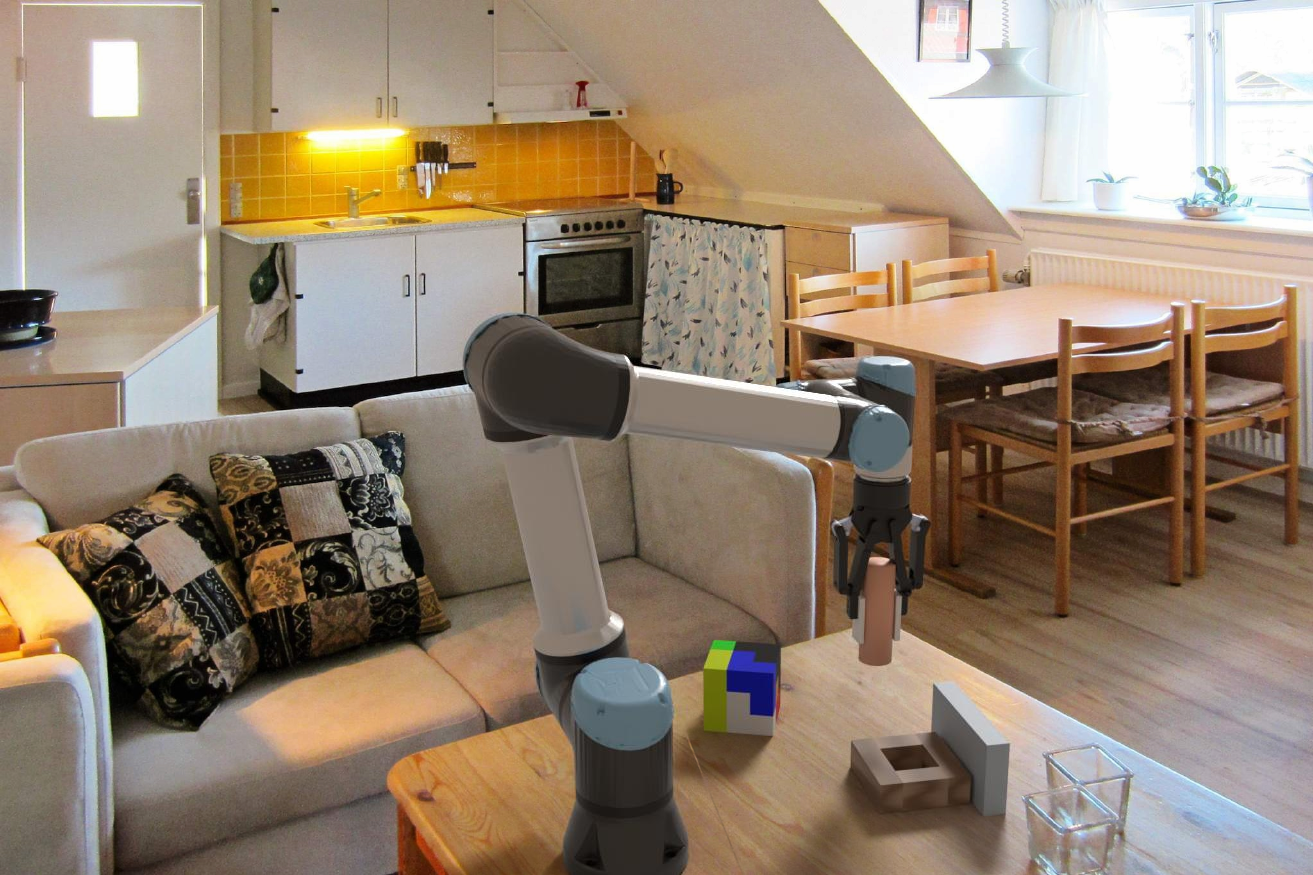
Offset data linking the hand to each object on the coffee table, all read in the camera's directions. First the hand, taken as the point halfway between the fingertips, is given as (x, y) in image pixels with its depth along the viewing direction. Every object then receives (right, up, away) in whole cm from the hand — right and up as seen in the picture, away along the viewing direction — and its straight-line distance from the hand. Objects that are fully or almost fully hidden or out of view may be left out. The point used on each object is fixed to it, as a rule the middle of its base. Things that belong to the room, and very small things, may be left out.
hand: (875, 638), depth 176 cm
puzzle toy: (-17, -14, +13) cm, 26 cm away
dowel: (0, -3, +1) cm, 3 cm away
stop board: (+11, -18, -5) cm, 22 cm away
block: (+3, -18, -6) cm, 20 cm away
